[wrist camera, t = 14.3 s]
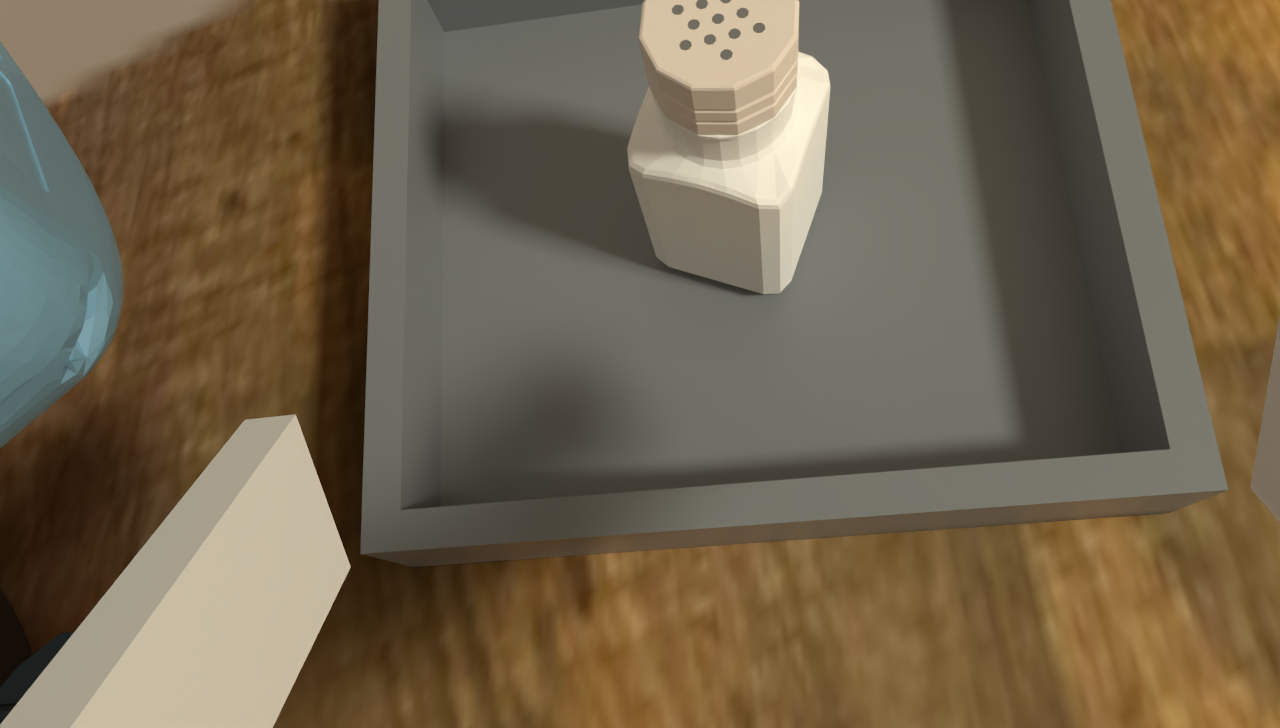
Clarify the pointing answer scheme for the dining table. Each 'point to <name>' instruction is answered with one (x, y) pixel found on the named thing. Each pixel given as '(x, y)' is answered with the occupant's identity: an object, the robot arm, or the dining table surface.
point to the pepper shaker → (729, 138)
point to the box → (768, 295)
